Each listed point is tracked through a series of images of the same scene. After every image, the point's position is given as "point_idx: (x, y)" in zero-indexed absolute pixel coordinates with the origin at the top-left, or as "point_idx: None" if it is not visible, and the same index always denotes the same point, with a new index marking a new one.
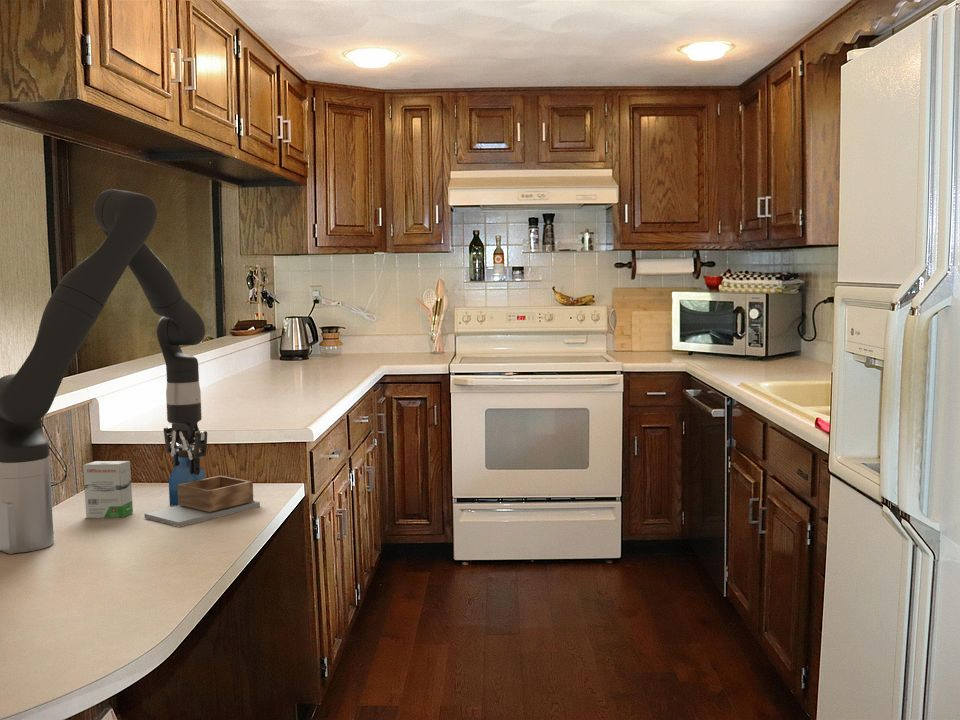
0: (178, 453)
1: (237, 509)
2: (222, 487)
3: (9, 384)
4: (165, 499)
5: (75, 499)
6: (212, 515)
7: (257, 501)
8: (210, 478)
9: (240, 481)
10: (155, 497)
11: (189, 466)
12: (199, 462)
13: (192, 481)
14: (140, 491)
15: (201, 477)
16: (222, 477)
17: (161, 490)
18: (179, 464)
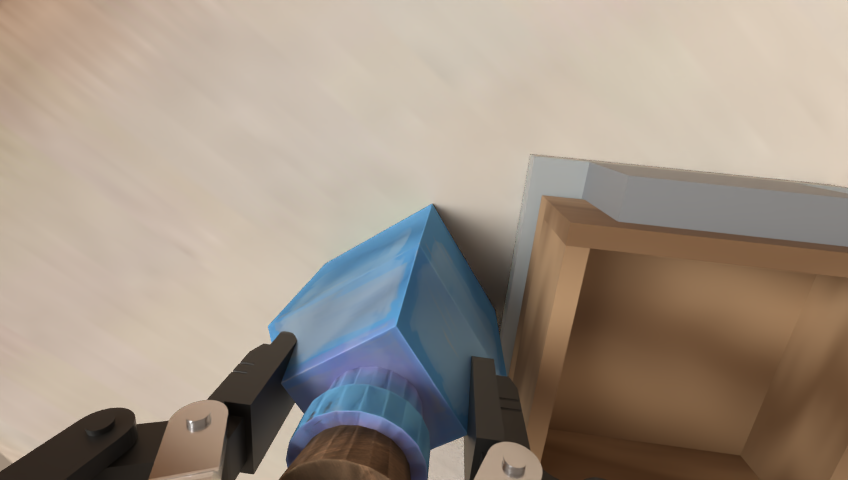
0: (230, 464)
1: None
2: (840, 463)
3: None
4: (278, 296)
5: (5, 436)
6: None
7: (832, 189)
8: (571, 321)
9: (833, 272)
10: (207, 290)
11: (465, 457)
12: (527, 437)
13: (528, 423)
14: (44, 244)
15: (454, 293)
16: (618, 250)
17: (95, 184)
18: (302, 410)
